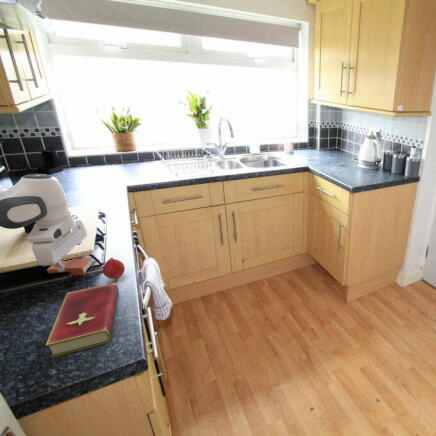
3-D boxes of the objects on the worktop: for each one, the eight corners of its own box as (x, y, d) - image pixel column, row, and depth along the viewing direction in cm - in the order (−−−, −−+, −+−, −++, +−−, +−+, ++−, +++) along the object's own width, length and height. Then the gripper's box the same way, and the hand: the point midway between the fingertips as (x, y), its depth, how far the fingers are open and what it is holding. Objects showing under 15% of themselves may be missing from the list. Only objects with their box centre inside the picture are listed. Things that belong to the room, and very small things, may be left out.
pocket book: (49, 277, 102) (46, 269, 101) (60, 267, 108) (57, 259, 107) (84, 275, 104) (81, 267, 103) (93, 265, 110) (90, 257, 108)
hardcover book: (119, 293, 96) (116, 282, 95) (111, 341, 79) (107, 328, 77) (71, 303, 91) (66, 291, 90) (51, 357, 74) (45, 344, 73)
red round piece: (102, 284, 100) (96, 263, 97) (110, 274, 105) (104, 253, 102) (123, 283, 101) (117, 261, 98) (129, 273, 106) (124, 252, 103)
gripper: (64, 211, 107) (77, 247, 113) (22, 240, 89) (40, 281, 95) (85, 210, 108) (97, 246, 114) (47, 239, 90) (63, 279, 96)
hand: (71, 262), depth 104 cm, fingers open, 8 cm apart
